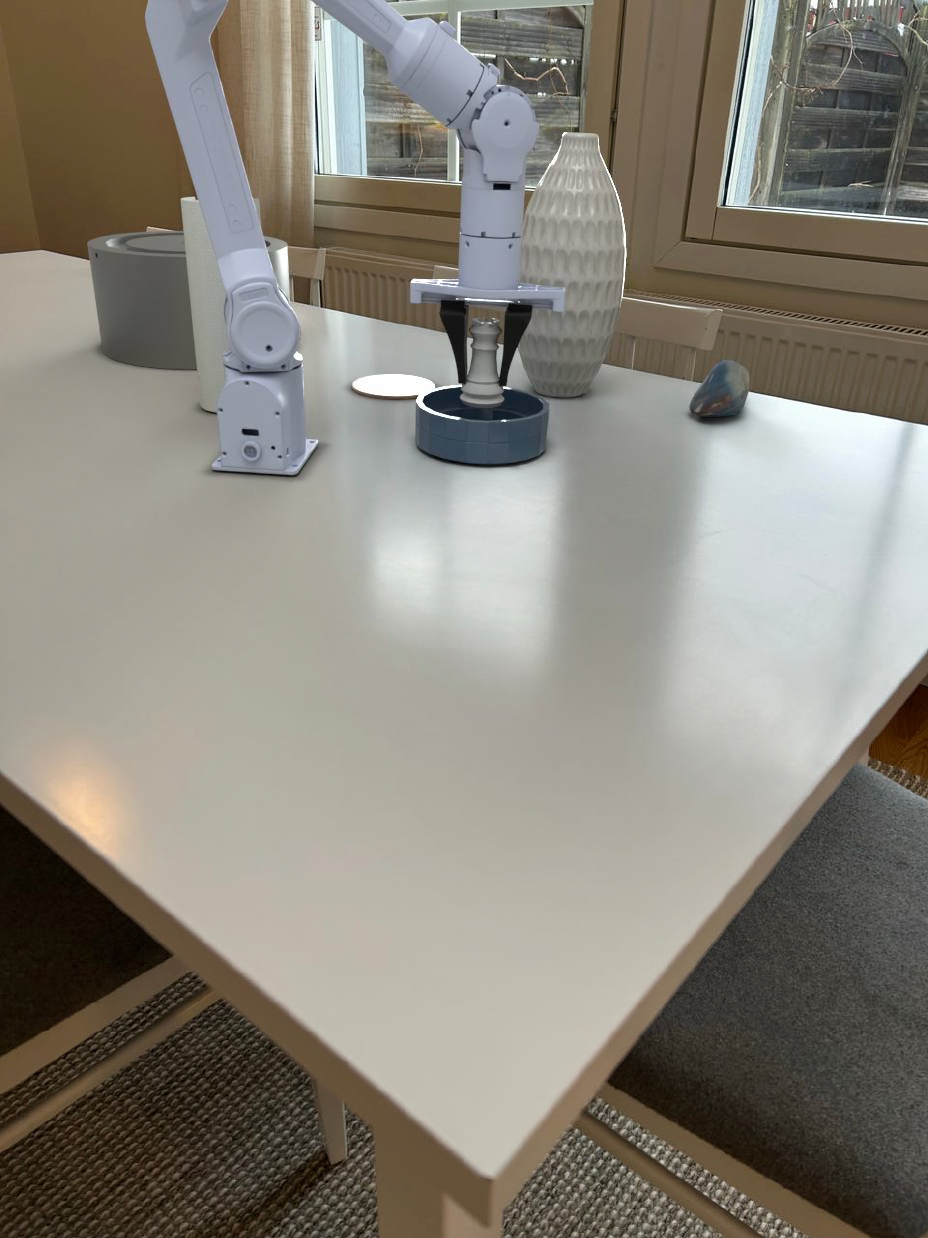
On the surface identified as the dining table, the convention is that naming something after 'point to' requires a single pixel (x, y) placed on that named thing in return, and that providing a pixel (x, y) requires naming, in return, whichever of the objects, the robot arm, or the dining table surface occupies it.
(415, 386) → the coaster
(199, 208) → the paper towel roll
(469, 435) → the bowl
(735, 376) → the seashell
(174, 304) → the container
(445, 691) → the dining table surface
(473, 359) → the rook chess piece
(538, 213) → the vase
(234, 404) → the robot arm
